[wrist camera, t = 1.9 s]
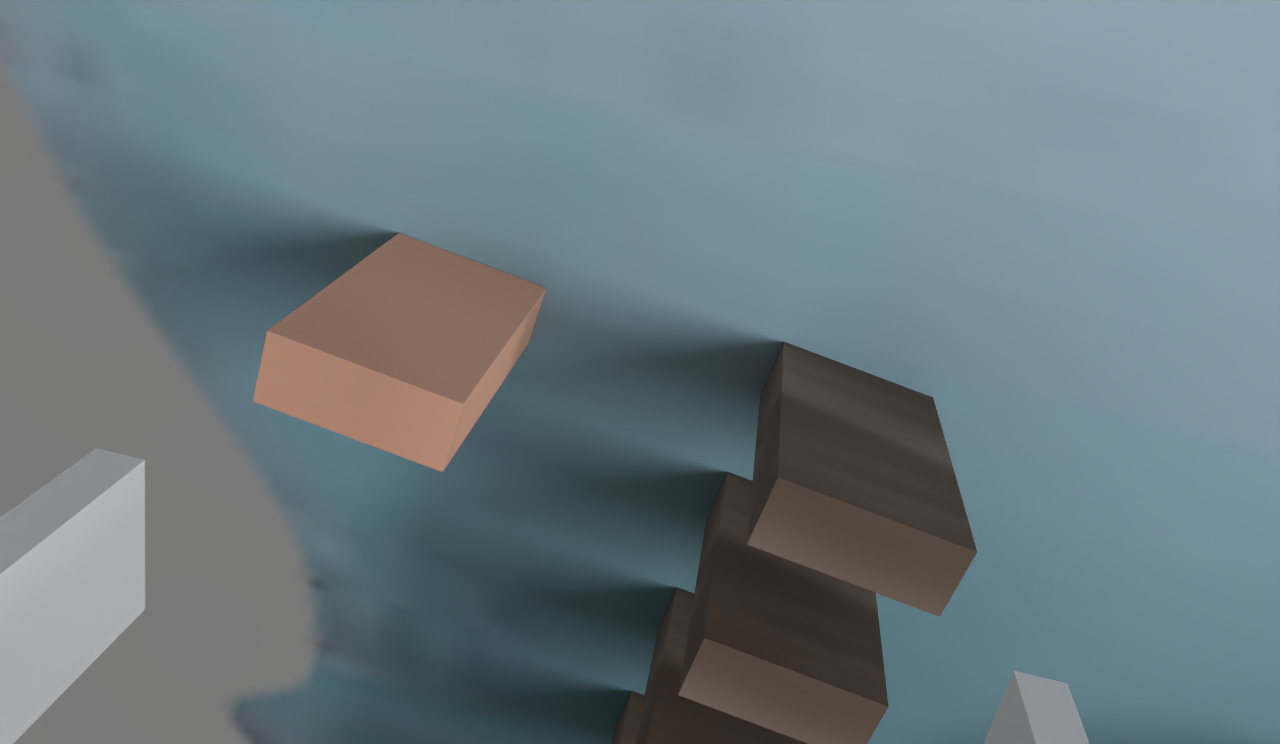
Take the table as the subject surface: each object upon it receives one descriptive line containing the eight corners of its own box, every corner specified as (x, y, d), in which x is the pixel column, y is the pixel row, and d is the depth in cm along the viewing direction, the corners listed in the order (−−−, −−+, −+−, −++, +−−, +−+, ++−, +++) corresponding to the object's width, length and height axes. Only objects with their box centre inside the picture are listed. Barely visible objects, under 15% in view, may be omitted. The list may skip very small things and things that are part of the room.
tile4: (788, 678, 38) (784, 886, 29) (658, 630, 38) (618, 824, 29) (809, 636, 37) (811, 838, 29) (676, 587, 37) (641, 775, 29)
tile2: (905, 450, 34) (939, 616, 25) (760, 395, 34) (747, 544, 25) (932, 397, 33) (976, 551, 25) (783, 341, 33) (777, 477, 25)
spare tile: (529, 342, 34) (442, 472, 26) (385, 288, 34) (252, 401, 26) (546, 288, 33) (463, 403, 25) (398, 232, 33) (266, 330, 25)
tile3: (844, 571, 36) (856, 761, 27) (706, 519, 36) (678, 694, 27) (867, 524, 35) (888, 706, 27) (727, 471, 35) (704, 637, 27)
